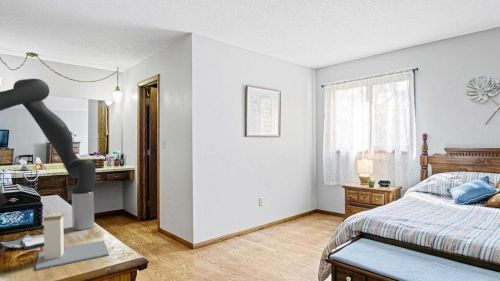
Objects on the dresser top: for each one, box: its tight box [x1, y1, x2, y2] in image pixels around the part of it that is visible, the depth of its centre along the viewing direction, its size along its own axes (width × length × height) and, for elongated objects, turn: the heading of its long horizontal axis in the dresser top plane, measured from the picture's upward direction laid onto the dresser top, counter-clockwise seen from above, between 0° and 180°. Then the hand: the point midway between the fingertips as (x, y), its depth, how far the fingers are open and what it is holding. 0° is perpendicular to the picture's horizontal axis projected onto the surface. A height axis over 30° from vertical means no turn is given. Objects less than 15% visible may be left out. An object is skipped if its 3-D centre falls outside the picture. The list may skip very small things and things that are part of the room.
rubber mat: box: [35, 240, 110, 271], centre depth 110 cm, size 17×22×1 cm
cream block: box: [43, 212, 65, 260], centre depth 107 cm, size 5×5×15 cm
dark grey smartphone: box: [23, 233, 44, 251], centre depth 123 cm, size 9×2×16 cm
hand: (3, 204), depth 100 cm, fingers open, 8 cm apart
